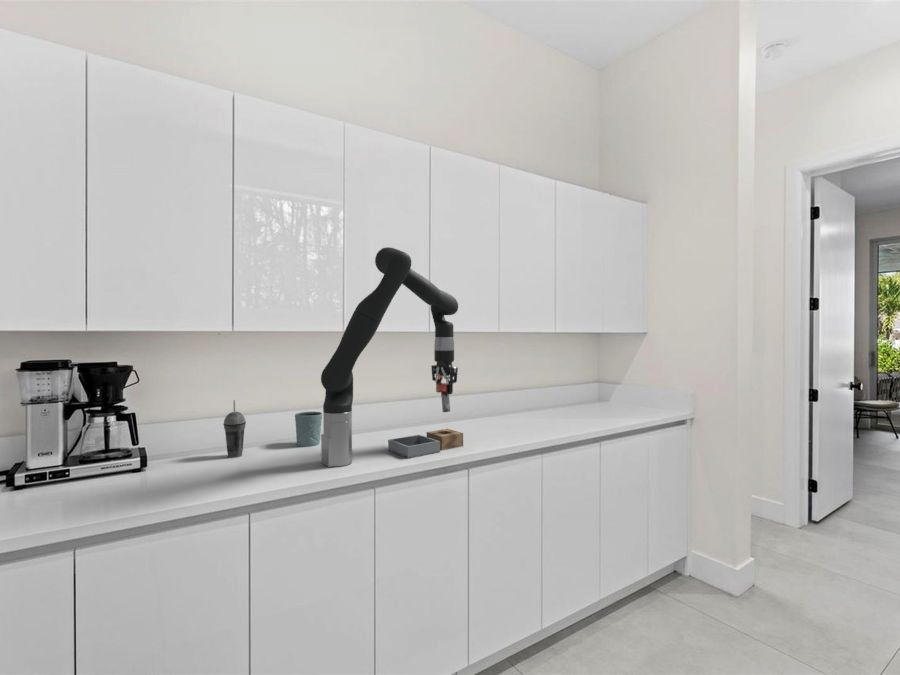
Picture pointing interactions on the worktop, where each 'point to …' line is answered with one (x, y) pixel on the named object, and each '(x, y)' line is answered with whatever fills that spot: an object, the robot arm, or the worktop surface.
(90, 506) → the worktop surface
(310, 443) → the teal tapered cylinder
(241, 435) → the beverage cup
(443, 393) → the pin
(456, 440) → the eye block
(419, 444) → the tray
